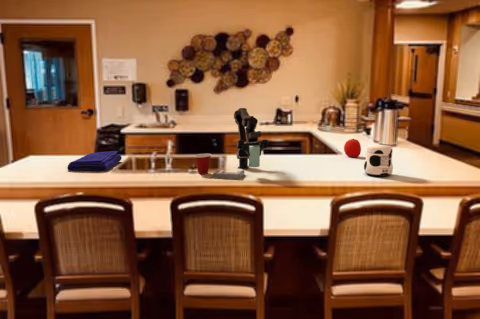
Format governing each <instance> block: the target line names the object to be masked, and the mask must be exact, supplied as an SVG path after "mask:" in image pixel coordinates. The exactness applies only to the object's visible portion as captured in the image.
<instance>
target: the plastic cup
mask: <svg viewBox="0 0 480 319" xmlns="http://www.w3.org/2000/svg"><path fill="white" fill-rule="evenodd" d="M211 156H212V154H211V153H198V154H195V155H194V156H193V157H194V159H195V163H196V168H197V172H198V174H199V175H207V174H208V173H209V168H210V163H211Z"/></svg>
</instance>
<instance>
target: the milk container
mask: <svg viewBox="0 0 480 319" xmlns="http://www.w3.org/2000/svg"><path fill="white" fill-rule="evenodd" d="M365 151H366V152H365V161H364V164H363V170H364V173H365V174H366V175H368V176H374V177H387V176H390V175H392V174H393V170H394V165H393V146H391V145H387V144H386V145H385V144H368V145H367V146H366V150H365Z"/></svg>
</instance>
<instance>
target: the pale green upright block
mask: <svg viewBox="0 0 480 319" xmlns="http://www.w3.org/2000/svg"><path fill="white" fill-rule="evenodd" d="M249 154H250V156H249V159H248V166H249V167H250V168H259V167H260V166H261V165H260V163H261V158H260V157H261V156H260V146H249ZM249 167H248V168H249Z"/></svg>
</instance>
